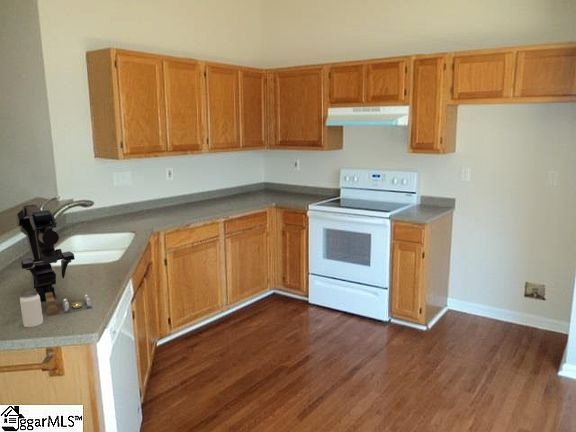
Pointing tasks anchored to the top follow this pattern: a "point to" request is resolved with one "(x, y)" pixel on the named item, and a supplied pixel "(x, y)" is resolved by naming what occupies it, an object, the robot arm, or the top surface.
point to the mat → (76, 309)
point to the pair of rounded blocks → (86, 299)
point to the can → (31, 309)
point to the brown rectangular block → (51, 304)
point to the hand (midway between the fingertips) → (50, 280)
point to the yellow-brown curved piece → (76, 305)
